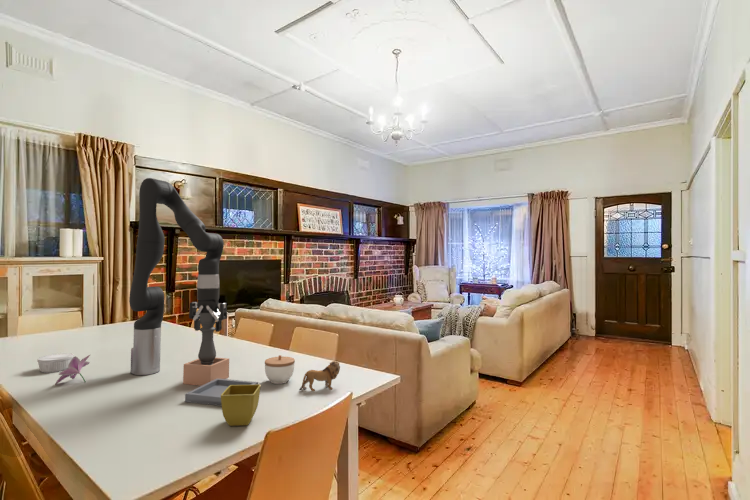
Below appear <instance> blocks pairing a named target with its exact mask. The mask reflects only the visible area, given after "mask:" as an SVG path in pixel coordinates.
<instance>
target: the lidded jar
mask: <svg viewBox="0 0 750 500" xmlns="http://www.w3.org/2000/svg"><path fill="white" fill-rule="evenodd" d="M295 360H296V359H295V358H294V357H291V356H282V355H278V356H273V357H269V358H267V359H265V360H264V371H265V375H266V377H267V379H268V380H269V381H270V383H271V384H275V385H280V384H286V383H287V382H289V380H290V379H291V378H292V377H293V374H294V371H295V362H296V361H295Z"/></svg>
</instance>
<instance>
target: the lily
mask: <svg viewBox="0 0 750 500" xmlns="http://www.w3.org/2000/svg"><path fill="white" fill-rule="evenodd" d="M90 356H91V354H89V355H87V356H85V357H83V358H82V359H80V358H79V357H78V356H75V355H74V357H73V358H72V360H71V361H70V363H69V365H68V368H67V369H65V370H63V371H59V373H58V375H59V378H58V379H57V380H56V382H55V384H54V385H58V384H59V383H60V382H62V381H63V380H65V379H66V378H68V377H69V378H70V379H73V380H75V379H76V377H77V375H80V376H81V378H82V380H83V382H84V383H87V382H86V380H85V377H84V376H83V375H82V373H81V370H82V369H83V367H86V366H88V365H89V364H91V362H90V361H87V360H89V359H88V358H89V357H90Z"/></svg>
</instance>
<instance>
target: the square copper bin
mask: <svg viewBox="0 0 750 500" xmlns="http://www.w3.org/2000/svg"><path fill="white" fill-rule="evenodd" d="M213 361H214V362H213V364H212V365H201V361H200V360H199V358H197V359H194V360H190V361H188V362H185V363H183V368H182V369H183V370H182V371H183V373H182V375H183V377H182V384H183V385H193V386H199V387H200V386H202V385H204V384H206V383H208V382H211V381H213V380H215V379H217V378H218V379H228V378H230V358H226V357H217V356H216V357H215V359H214V360H213Z"/></svg>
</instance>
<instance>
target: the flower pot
mask: <svg viewBox="0 0 750 500" xmlns="http://www.w3.org/2000/svg"><path fill="white" fill-rule="evenodd" d="M260 392H261V384H258V385H230V386H229V387H228V388H227V389H226V390H225V391H224V392H223V393H222V394H221V404H222V406H221V413H222V417H223V419H224V420H225V423H227V425H228V426H231V427H236V426H249V424H250V423H251V421H252V420H253V418H254V415H255V413H256V411H257V409H258V405H259V401H260V394H261V393H260Z"/></svg>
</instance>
